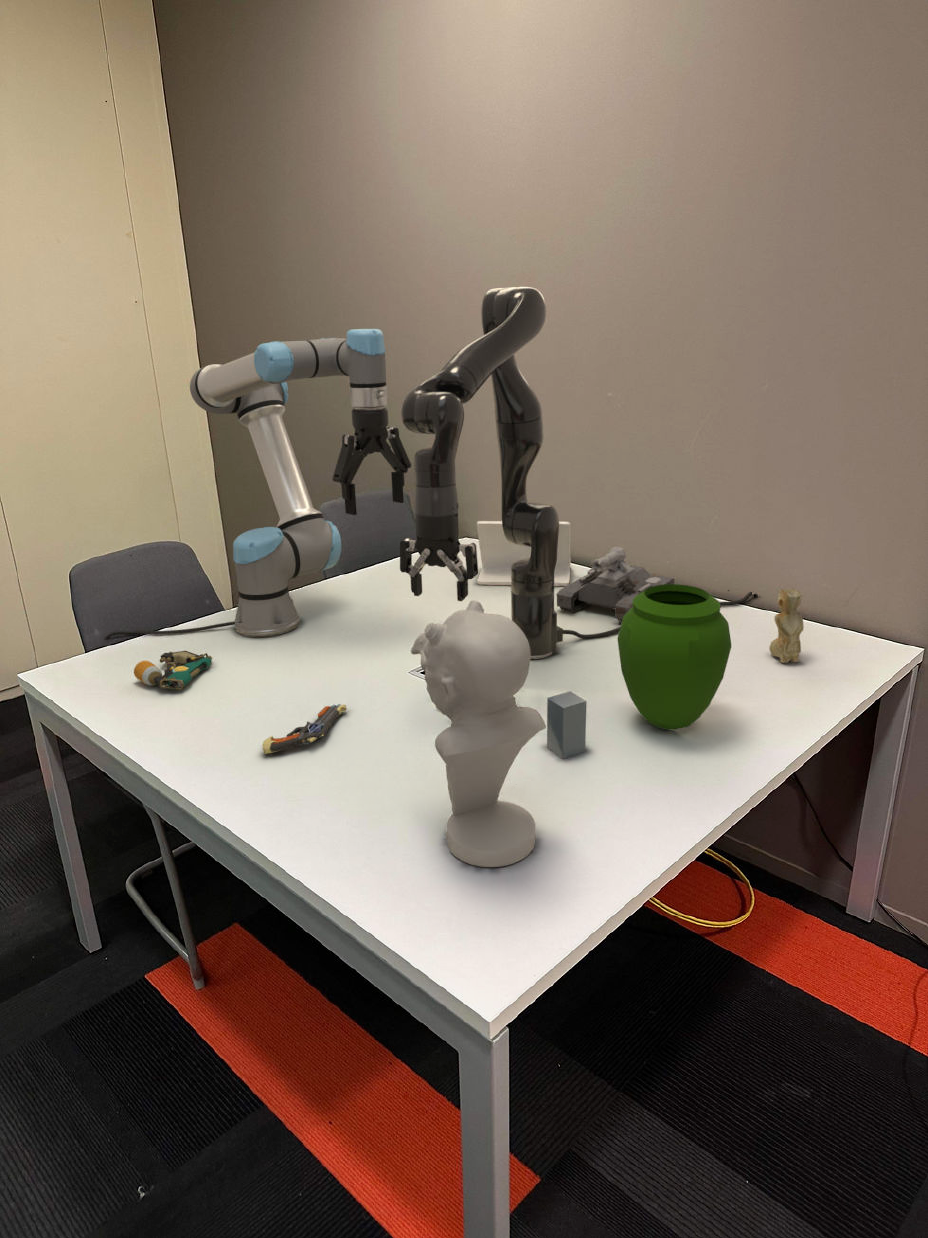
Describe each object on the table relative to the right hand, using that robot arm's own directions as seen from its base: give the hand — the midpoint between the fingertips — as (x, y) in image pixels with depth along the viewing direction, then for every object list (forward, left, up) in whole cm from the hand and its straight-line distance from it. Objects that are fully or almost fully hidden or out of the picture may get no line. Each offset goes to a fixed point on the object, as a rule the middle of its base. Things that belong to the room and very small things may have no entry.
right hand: (439, 597), depth 154 cm
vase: (-39, +14, -23) cm, 47 cm away
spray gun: (+52, -30, -23) cm, 64 cm away
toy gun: (+26, +2, -23) cm, 35 cm away
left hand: (+7, -38, +8) cm, 40 cm away
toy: (-52, -47, -23) cm, 74 cm away
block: (-18, +20, -23) cm, 35 cm away
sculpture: (-74, -6, -23) cm, 78 cm away
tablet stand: (-37, -77, -23) cm, 88 cm away
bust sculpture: (+3, +40, -23) cm, 46 cm away
